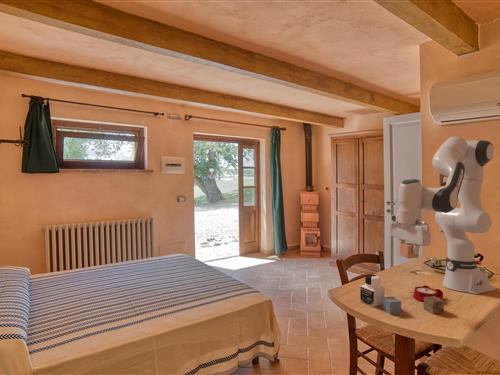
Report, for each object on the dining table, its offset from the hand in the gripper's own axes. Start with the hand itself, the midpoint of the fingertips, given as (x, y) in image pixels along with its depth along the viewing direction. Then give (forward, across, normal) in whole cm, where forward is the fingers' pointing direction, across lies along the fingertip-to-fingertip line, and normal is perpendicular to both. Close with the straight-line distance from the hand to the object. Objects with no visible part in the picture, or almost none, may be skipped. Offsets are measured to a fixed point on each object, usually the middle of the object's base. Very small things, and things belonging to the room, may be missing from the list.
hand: (409, 251), depth 132 cm
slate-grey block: (+24, -2, +9) cm, 25 cm away
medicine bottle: (+24, +7, +12) cm, 27 cm away
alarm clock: (+24, +8, -16) cm, 30 cm away
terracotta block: (+2, 0, 0) cm, 2 cm away
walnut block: (+24, -5, -8) cm, 25 cm away
